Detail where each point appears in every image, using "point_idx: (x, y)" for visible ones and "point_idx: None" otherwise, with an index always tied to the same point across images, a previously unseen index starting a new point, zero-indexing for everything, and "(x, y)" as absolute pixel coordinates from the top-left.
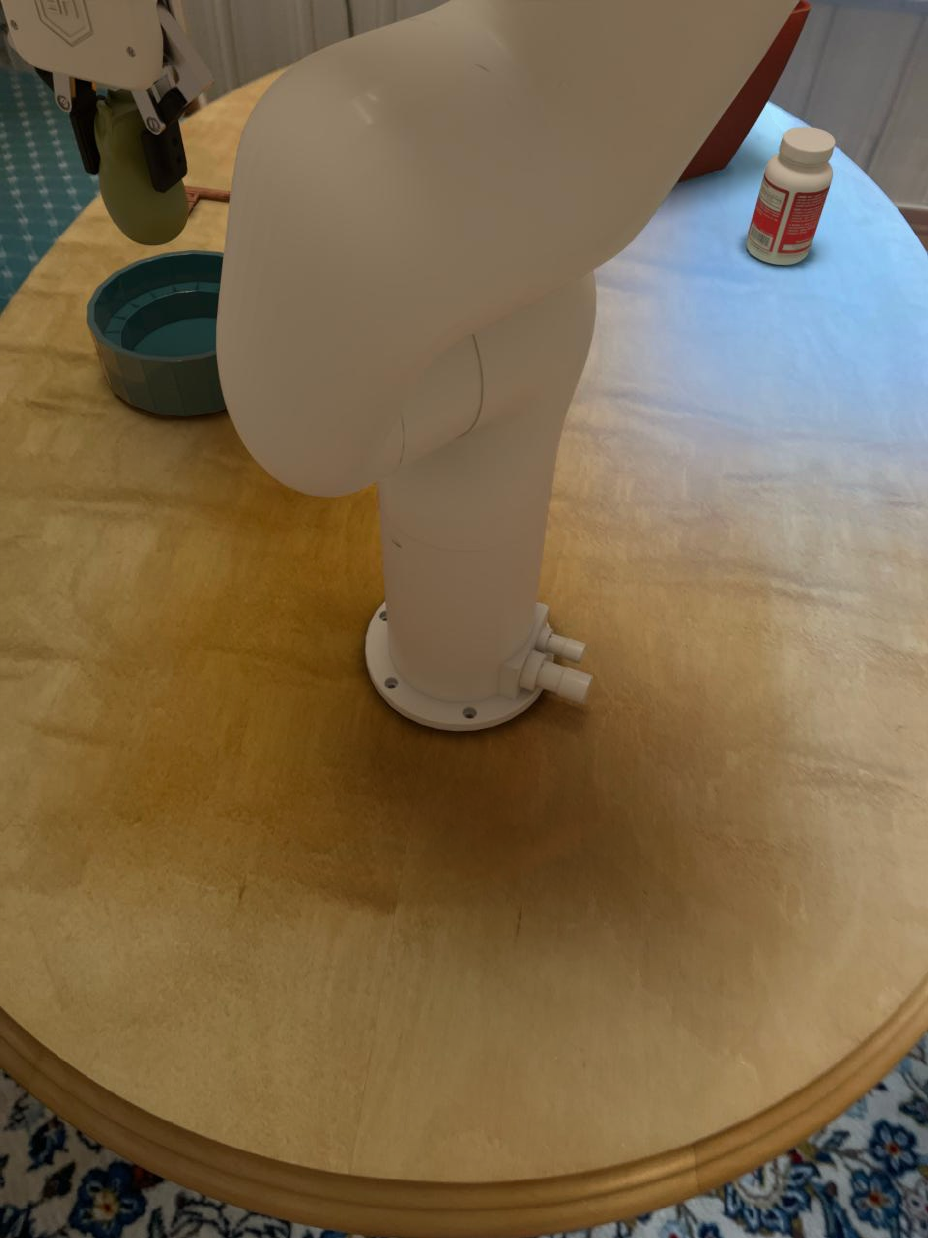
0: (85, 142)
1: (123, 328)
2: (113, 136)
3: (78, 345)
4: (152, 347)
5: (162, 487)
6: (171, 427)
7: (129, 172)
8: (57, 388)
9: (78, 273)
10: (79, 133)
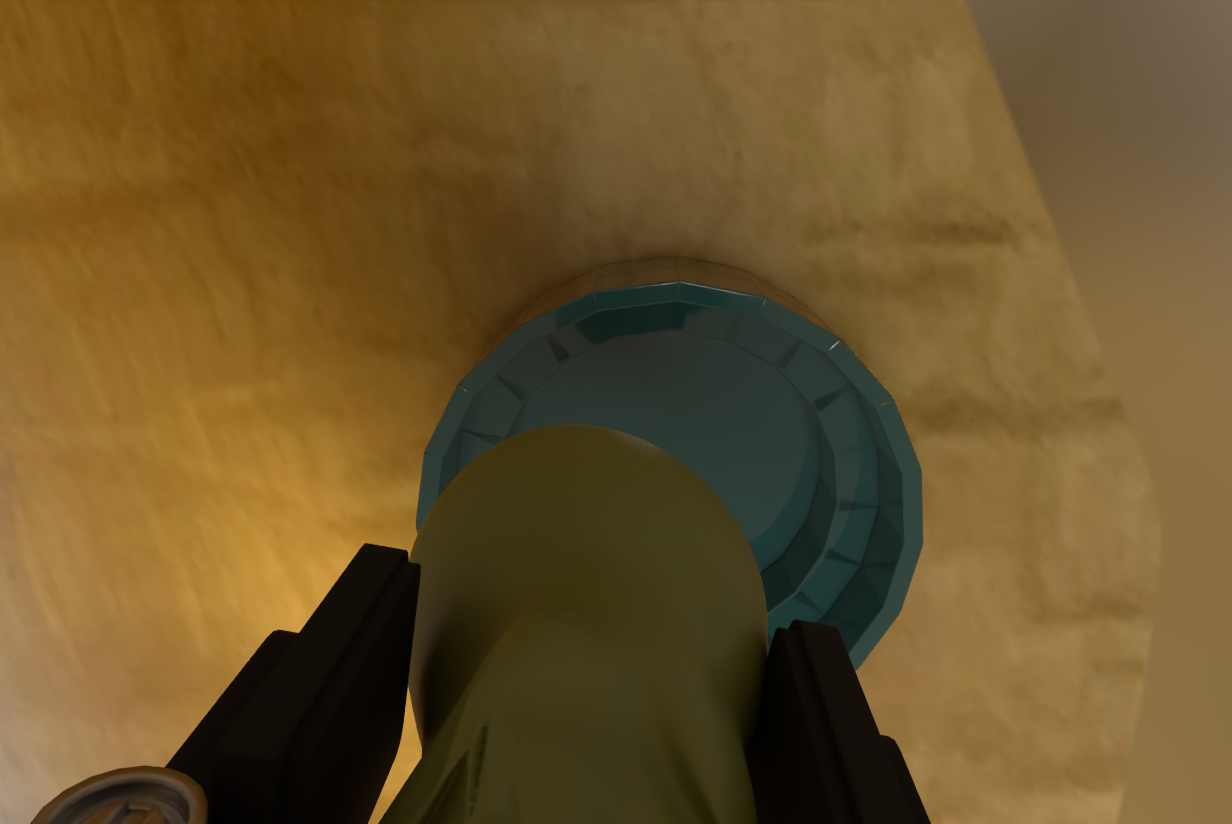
0: (817, 733)
1: (834, 471)
2: (490, 703)
3: (963, 458)
4: (777, 476)
5: (569, 27)
6: (633, 236)
7: (524, 598)
8: (956, 302)
9: (1057, 693)
10: (851, 769)
